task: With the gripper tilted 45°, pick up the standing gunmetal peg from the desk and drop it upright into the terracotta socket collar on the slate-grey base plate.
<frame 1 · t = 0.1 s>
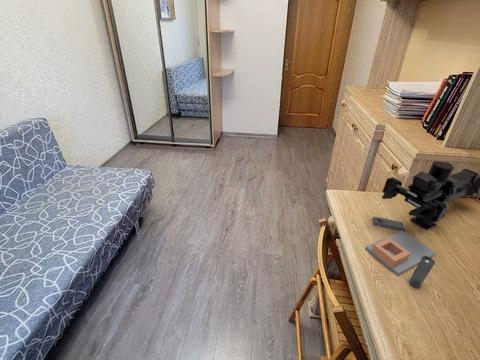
hand: (395, 204, 81), 17 cm above the table, tool horizontal, fingers open, 9 cm apart
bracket: (386, 226, 99), on the table
socket base: (387, 258, 84), on the table
peg: (414, 283, 76), on the table
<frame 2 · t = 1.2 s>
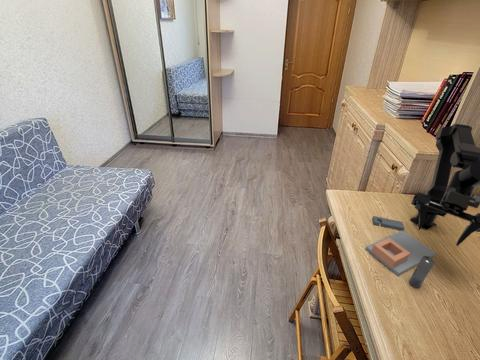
hand: (437, 237, 74), 13 cm above the table, tool tilted 45°, fingers open, 9 cm apart
nothing on the table moved.
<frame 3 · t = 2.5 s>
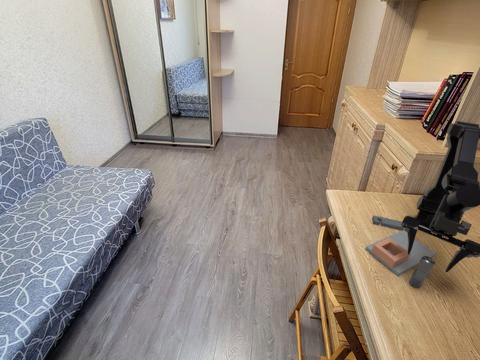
hand: (426, 262, 72), 8 cm above the table, tool tilted 45°, fingers open, 9 cm apart
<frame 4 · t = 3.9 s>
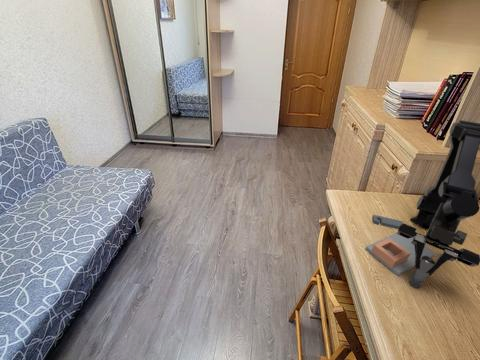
hand: (422, 271, 72), 7 cm above the table, tool tilted 45°, fingers closed on peg, 3 cm apart
peg: (414, 283, 76), on the table, touching gripper
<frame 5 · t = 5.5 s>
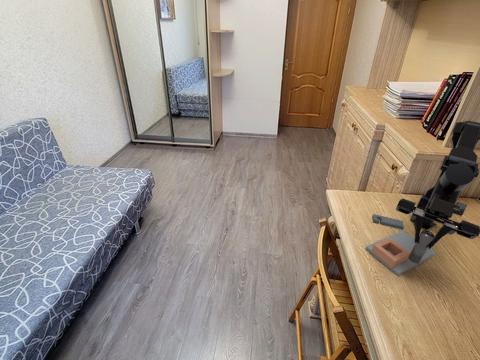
hand: (422, 245, 71), 13 cm above the table, tool tilted 45°, fingers closed on peg, 3 cm apart
peg: (414, 259, 76), point 7 cm above the table, touching gripper
when the fingers open (10 cm above the table, at t = 7.2 s): peg drops 2 cm, resting on socket base.
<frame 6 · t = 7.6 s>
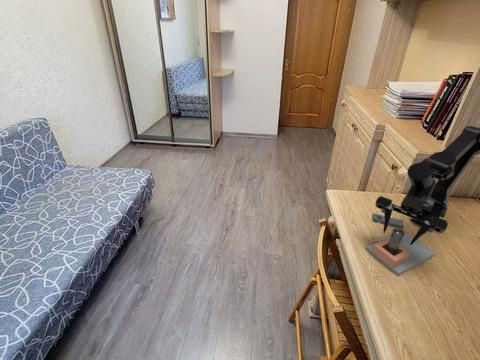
hand: (396, 238, 79), 10 cm above the table, tool tilted 45°, fingers open, 7 cm apart
peg: (388, 255, 84), point 1 cm above the table, touching socket base
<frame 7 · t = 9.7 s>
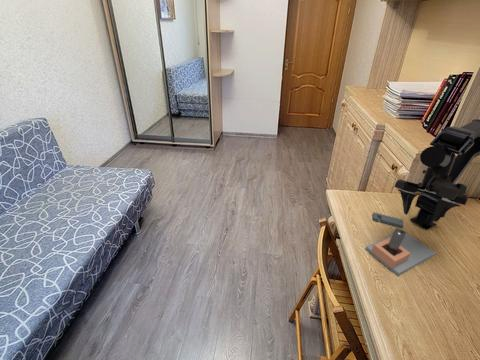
hand: (420, 217, 81), 13 cm above the table, tool tilted 25°, fingers open, 9 cm apart
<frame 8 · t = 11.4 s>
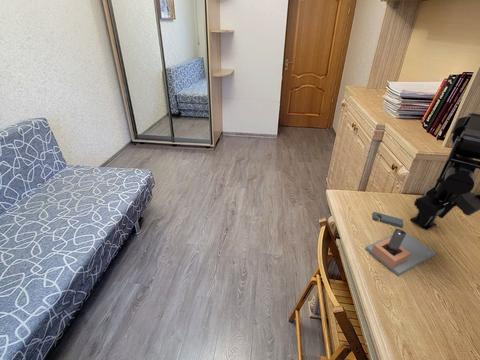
hand: (431, 221, 81), 13 cm above the table, tool pointing down, fingers open, 9 cm apart
at the end: peg 0.0 cm off-centre on the socket base, point 1.2 cm above the socket base's base; peg tilted 1°; the gripper is holding nothing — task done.
